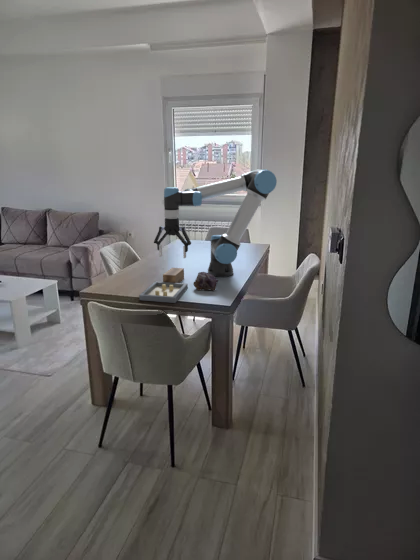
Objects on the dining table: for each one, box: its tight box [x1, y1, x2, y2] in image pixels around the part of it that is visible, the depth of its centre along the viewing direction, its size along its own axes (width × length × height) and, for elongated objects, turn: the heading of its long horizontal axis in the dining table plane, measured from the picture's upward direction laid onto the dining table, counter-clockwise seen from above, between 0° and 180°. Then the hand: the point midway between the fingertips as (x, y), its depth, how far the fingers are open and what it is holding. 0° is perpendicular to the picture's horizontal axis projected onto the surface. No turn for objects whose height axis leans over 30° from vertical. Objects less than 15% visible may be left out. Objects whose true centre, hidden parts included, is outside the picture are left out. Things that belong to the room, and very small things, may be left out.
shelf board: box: [162, 267, 185, 283], centre depth 209 cm, size 7×14×6 cm, turn 165°
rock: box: [192, 271, 219, 291], centre depth 198 cm, size 12×9×10 cm
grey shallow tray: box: [139, 280, 189, 304], centre depth 191 cm, size 18×22×3 cm
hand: (172, 257), depth 205 cm, fingers open, 13 cm apart
